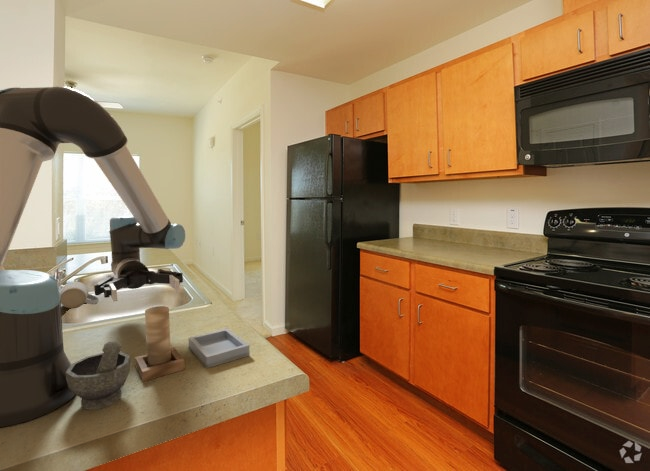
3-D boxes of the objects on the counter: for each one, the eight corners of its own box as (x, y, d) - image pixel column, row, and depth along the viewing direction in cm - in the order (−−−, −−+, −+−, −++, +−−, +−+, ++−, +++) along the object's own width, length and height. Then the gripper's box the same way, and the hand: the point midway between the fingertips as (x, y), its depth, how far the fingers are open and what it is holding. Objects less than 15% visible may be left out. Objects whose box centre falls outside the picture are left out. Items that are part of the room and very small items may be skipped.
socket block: (143, 381, 70) (142, 371, 70) (135, 365, 76) (135, 357, 76) (184, 369, 75) (184, 360, 74) (174, 355, 81) (174, 347, 81)
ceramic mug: (59, 311, 112) (58, 288, 111) (61, 304, 118) (60, 282, 118) (99, 306, 117) (98, 284, 117) (99, 300, 124) (98, 279, 123)
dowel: (150, 375, 72) (147, 314, 71) (146, 366, 76) (142, 308, 74) (174, 368, 75) (171, 310, 74) (168, 360, 79) (165, 304, 77)
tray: (207, 368, 75) (206, 357, 75) (188, 347, 85) (188, 337, 85) (249, 355, 81) (249, 345, 81) (227, 337, 92) (227, 328, 91)
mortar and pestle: (60, 403, 62) (54, 339, 61) (114, 380, 70) (110, 323, 69) (90, 425, 56) (85, 355, 55) (146, 397, 64) (142, 335, 63)
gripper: (178, 279, 108) (201, 295, 91) (80, 293, 93) (86, 316, 76) (177, 255, 107) (200, 267, 90) (78, 266, 92) (83, 283, 75)
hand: (148, 290), depth 83 cm, fingers open, 13 cm apart
